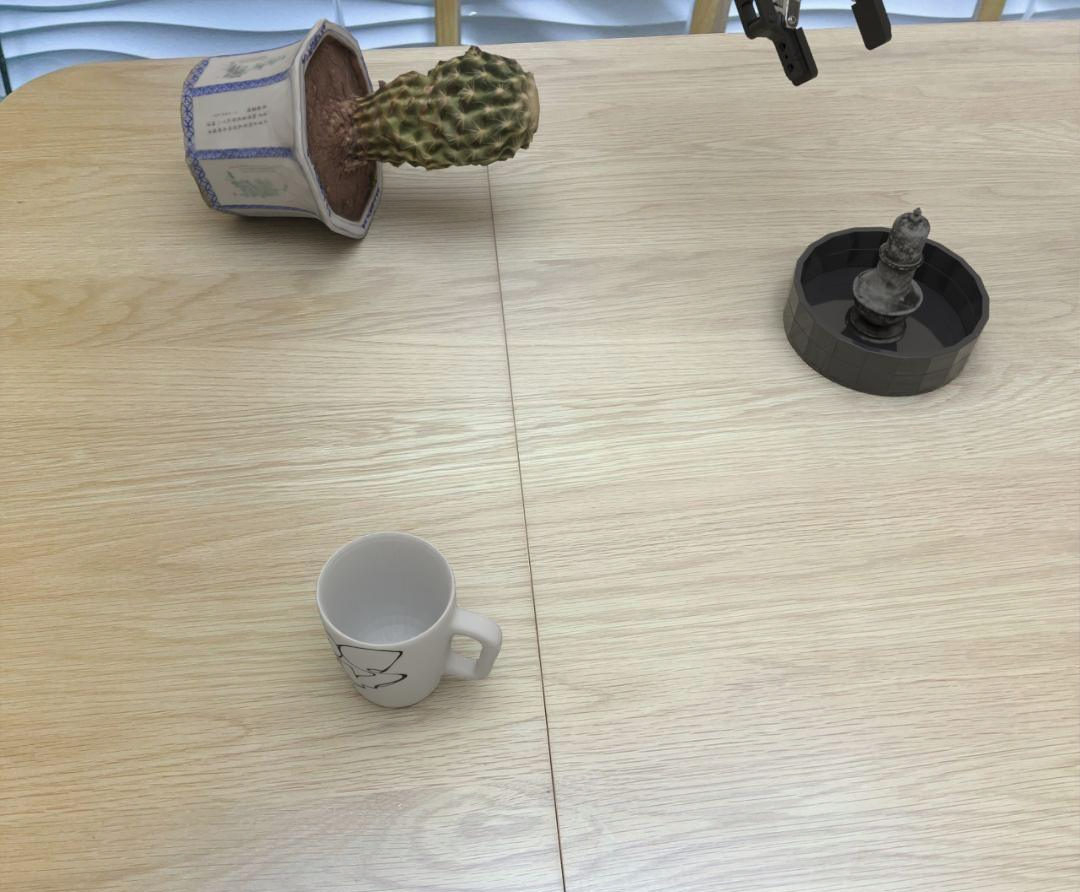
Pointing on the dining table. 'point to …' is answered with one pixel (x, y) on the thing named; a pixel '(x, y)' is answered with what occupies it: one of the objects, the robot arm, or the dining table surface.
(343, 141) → the potted plant
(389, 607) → the mug
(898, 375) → the pan
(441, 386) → the dining table surface
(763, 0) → the robot arm
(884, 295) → the grey chess piece
